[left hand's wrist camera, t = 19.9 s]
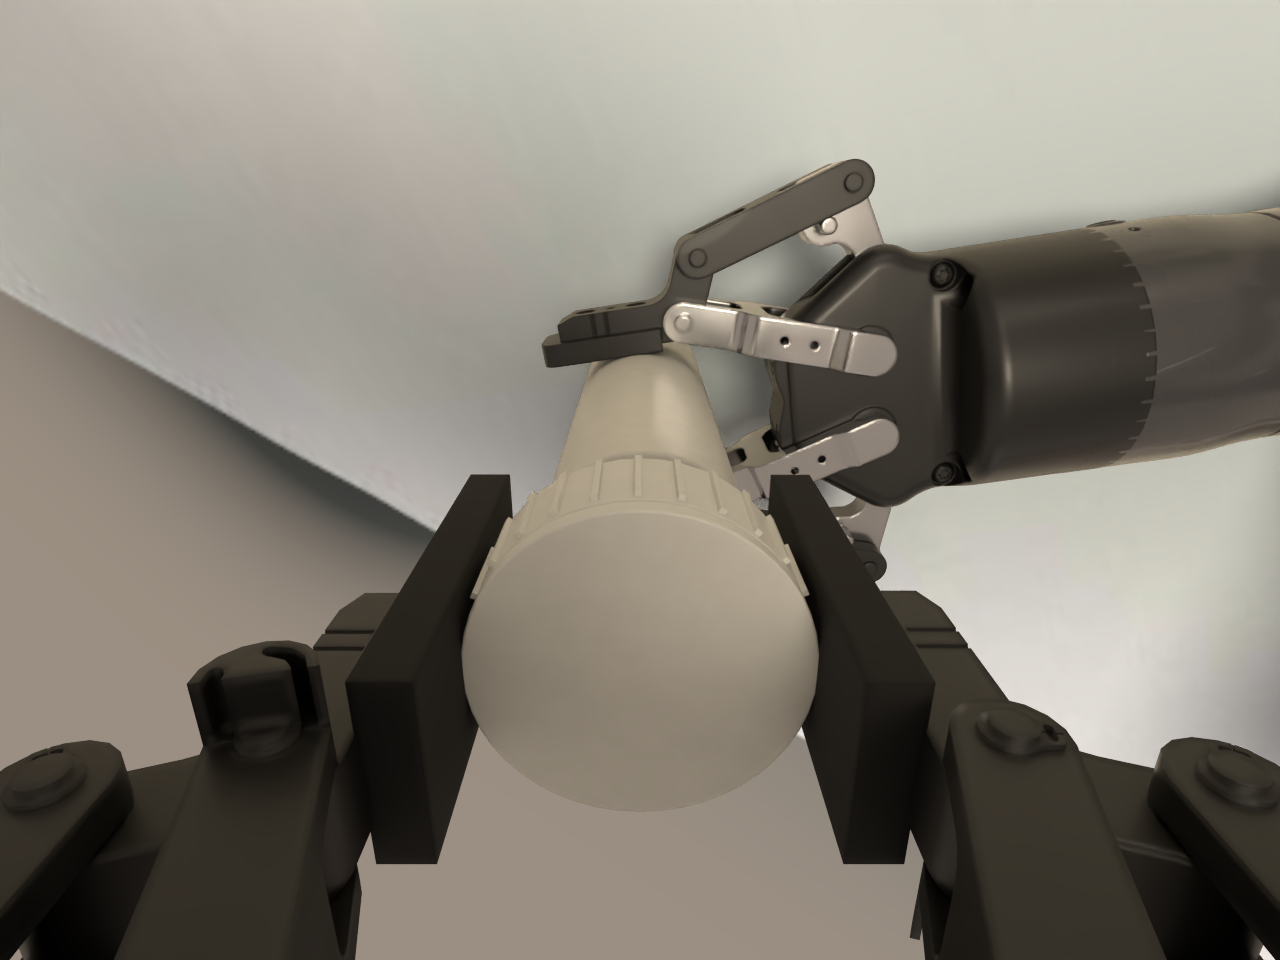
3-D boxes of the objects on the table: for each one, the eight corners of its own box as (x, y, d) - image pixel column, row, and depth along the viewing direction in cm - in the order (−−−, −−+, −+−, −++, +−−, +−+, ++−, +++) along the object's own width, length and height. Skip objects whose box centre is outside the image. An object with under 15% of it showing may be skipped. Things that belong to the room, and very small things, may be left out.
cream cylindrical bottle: (629, 297, 29) (608, 438, 12) (716, 357, 30) (819, 572, 12) (571, 385, 30) (476, 631, 13) (657, 440, 31) (675, 741, 14)
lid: (803, 709, 13) (832, 799, 11) (515, 740, 13) (495, 832, 12) (787, 434, 11) (818, 483, 9) (453, 474, 12) (415, 530, 10)
